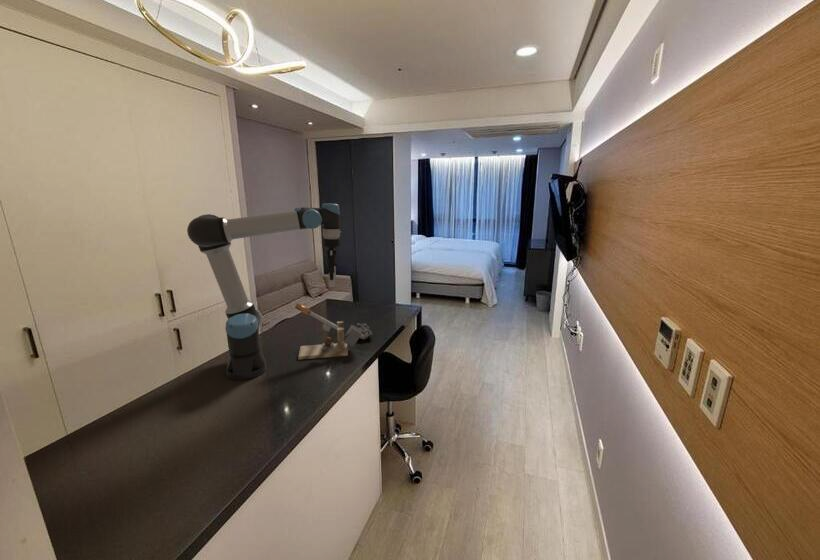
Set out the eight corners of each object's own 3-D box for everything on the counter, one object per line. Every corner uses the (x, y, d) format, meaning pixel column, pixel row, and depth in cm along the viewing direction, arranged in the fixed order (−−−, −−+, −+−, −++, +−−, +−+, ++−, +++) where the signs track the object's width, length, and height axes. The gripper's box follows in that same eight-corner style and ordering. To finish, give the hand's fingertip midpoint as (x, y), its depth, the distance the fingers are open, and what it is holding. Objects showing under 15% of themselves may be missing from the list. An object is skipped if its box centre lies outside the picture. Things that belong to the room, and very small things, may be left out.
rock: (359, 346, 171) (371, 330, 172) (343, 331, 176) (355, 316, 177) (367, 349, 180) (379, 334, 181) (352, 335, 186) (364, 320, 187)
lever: (290, 314, 151) (299, 300, 150) (292, 309, 156) (301, 296, 156) (352, 347, 160) (361, 334, 160) (352, 341, 166) (360, 329, 165)
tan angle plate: (298, 359, 154) (296, 332, 151) (300, 348, 164) (299, 323, 161) (348, 355, 158) (347, 329, 155) (347, 345, 169) (346, 320, 166)
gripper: (339, 241, 145) (340, 289, 150) (340, 234, 169) (340, 276, 174) (321, 241, 144) (322, 290, 149) (324, 234, 168) (325, 276, 173)
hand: (332, 282), depth 162 cm, fingers open, 13 cm apart
